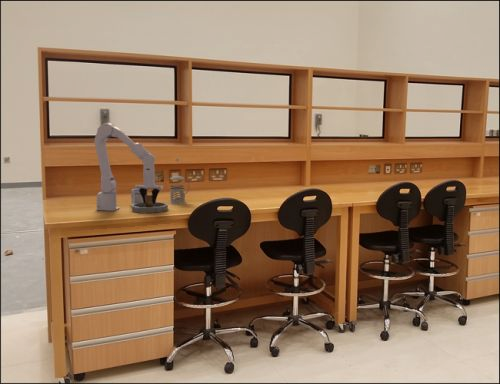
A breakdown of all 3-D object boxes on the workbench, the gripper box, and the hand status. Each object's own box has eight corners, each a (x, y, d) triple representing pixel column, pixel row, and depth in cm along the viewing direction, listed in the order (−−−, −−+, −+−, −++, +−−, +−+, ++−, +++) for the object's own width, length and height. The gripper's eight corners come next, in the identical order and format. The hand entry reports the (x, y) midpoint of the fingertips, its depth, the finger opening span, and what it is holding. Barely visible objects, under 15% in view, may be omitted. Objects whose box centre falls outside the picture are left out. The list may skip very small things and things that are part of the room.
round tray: (125, 211, 247) (125, 206, 246) (140, 205, 264) (140, 201, 264) (159, 213, 243) (159, 208, 243) (172, 207, 260) (172, 202, 260)
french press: (167, 201, 280) (167, 157, 276) (188, 200, 283) (187, 157, 279) (169, 204, 270) (169, 159, 267) (190, 203, 273) (190, 159, 270)
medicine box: (134, 205, 265) (134, 189, 264) (131, 204, 269) (130, 188, 268) (147, 204, 270) (147, 188, 269) (144, 203, 274) (144, 187, 272)
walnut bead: (143, 207, 252) (143, 195, 251) (147, 205, 256) (147, 194, 255) (151, 207, 250) (151, 196, 249) (155, 205, 255) (155, 194, 254)
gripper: (132, 177, 249) (133, 203, 251) (159, 178, 246) (159, 205, 248) (138, 175, 255) (138, 201, 257) (164, 176, 253) (164, 202, 255)
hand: (149, 203), depth 253 cm, fingers closed on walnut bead, 4 cm apart
